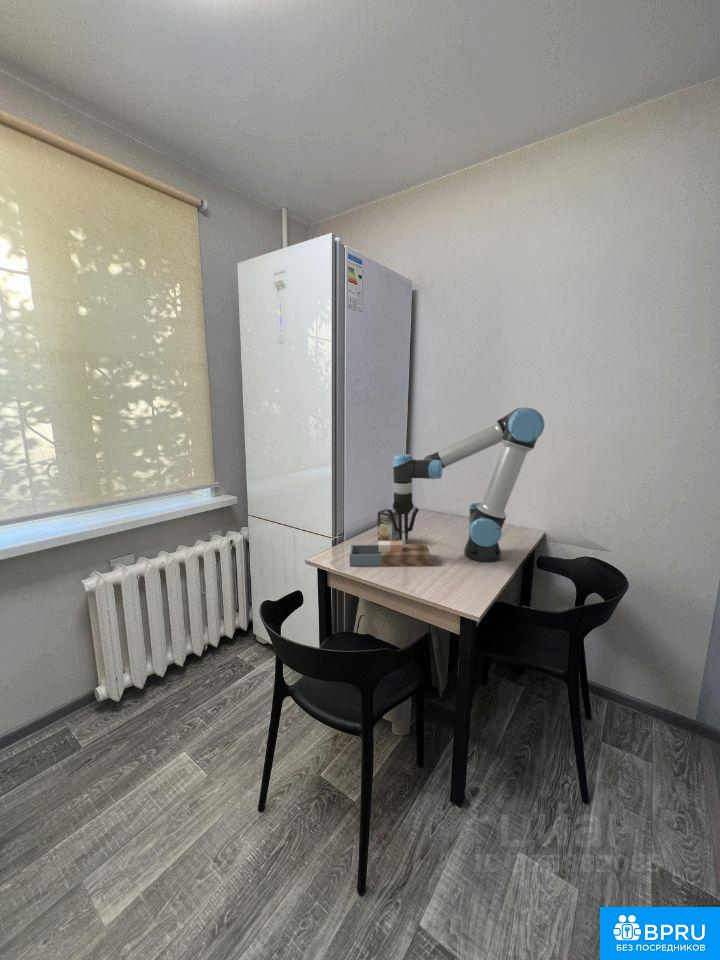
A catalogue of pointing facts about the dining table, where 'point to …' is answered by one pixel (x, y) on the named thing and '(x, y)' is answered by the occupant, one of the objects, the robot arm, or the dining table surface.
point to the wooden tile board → (407, 556)
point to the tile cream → (384, 546)
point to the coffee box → (387, 526)
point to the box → (365, 556)
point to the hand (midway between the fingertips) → (403, 546)
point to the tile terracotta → (396, 546)
